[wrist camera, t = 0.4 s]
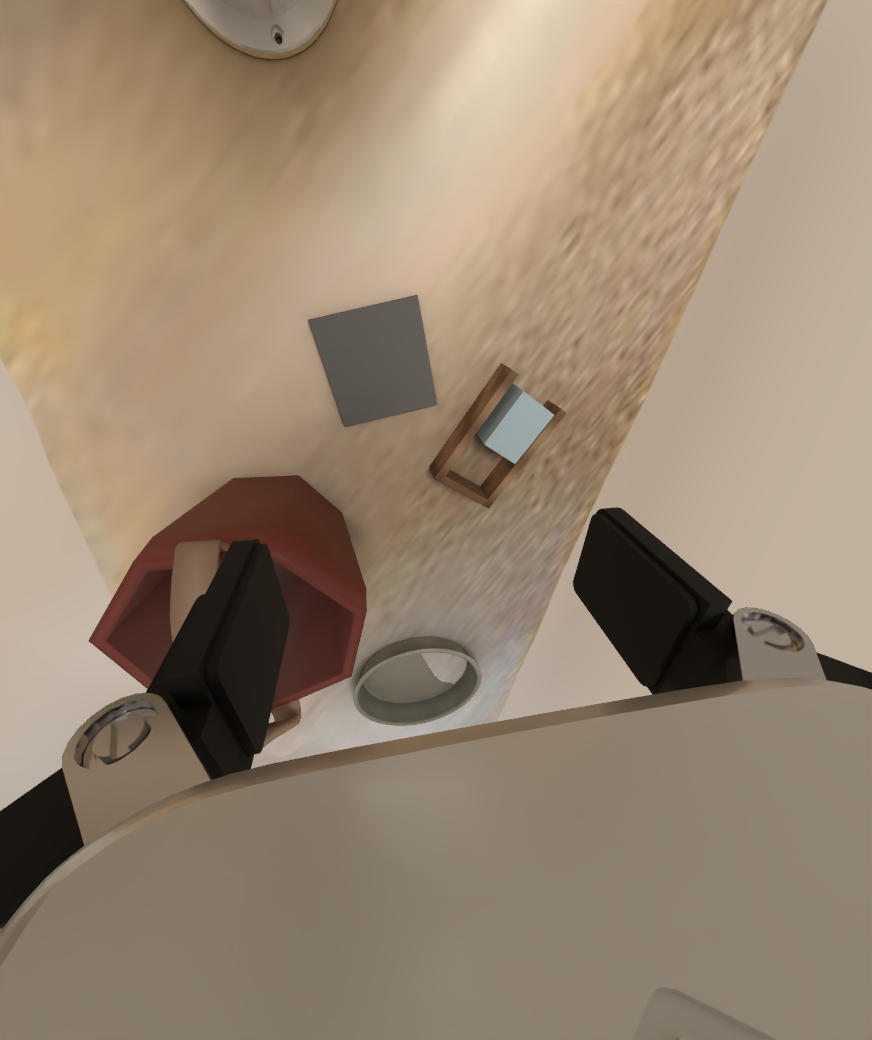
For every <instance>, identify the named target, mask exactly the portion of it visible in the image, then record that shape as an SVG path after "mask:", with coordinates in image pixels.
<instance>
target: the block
mask: <svg viewBox="0 0 872 1040" xmlns="http://www.w3.org/2000/svg"><path fill="white" fill-rule="evenodd" d="M553 416H554V414H552V413H551V412H550V411H549V410H547V409H546V408H545V407H543V406H542V405H541V404H540V403H538V402H537V401H536V400H534V399H533V398H532V397H530V396H529V395H528V394H527V393H525V392H524V391H523V390H521V389H520V388H518V387H517V386H515V385H514V384H512V385H511V386H510V388H509V389H508V390H507V392H506V393H505V394H504V396H503V397H502V399H501V400H500V401H499V403H498V404H497V405H496V407H495V408H494V410H493V411H492V412H491V414H490V415H489V417H488V418H487V419H486V421H485V422H484V423H483V425H482V426H481V428H480V429H479V430H478V432H477V433H476V434H477V436H478V437H479V438H480V440H481V441H482V442H483V443H484V445H486V446H487V447H489V448H491V449H492V450H494V451H495V452H497V453H498V454H500V455H502V456H503V457H505V458H506V459H508V460H509V461H511V462H513V463H514V464H516V462H517V461H518V460H519V459H520V457H521V456H522V455H523V454H524V453H525V451H526V450H527V449H528V448H529V446H530V445H531V444H532V443H533V441H534V440H535V439H536V438H537V436H538V435H539V434H540V433H541V431H542V430H543V429H544V428H545V426H546V425H547V424H548V423H549V421H550V420H551V419H552V418H553Z"/></svg>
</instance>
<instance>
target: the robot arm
mask: <svg viewBox="0 0 872 1040" xmlns="http://www.w3.org/2000/svg"><path fill="white" fill-rule="evenodd" d="M184 1H185V3H186V4H187V5H188V6H189V8H190V9H191V10H192V11H193V13H194V14H195V15H196V16H197V17H198V19H199V20H201V21H202V22H203V23H204V24H205V25H206V26H207V27H208V28H209V29H210V30H211V31H212V32H213V33H214V34H215V35H216V36H218V37H219V38H221V39H222V40H224V41H225V42H227V43H228V44H230V45H231V46H232V47H234V48H235V49H238V50H240V51H242V52H245V53H247V54H249V55H252V56H254V57H260V58H267V59H279V58H287V57H290V56H292V55H295V54H297V53H299V52H301V51H303V50H305V49H306V48H307V47H308V46H309V45H310V44H311V43H313V42H314V41H315V40H316V39H317V38H318V36H319V35H320V33H321V32H322V31H323V29H324V28H325V26H326V25H327V23H328V21H329V19H330V16H331V14H332V12H333V9H334V7H335V5H336V2H337V0H184ZM277 36H280V37H281V38H282V39H283V42H282V43H281V44H277V43H276V37H277ZM573 586H574V590H575V592H576V594H577V595H578V596H579V598H580V599H581V601H582V602H583V603H584V605H585V606H586V608H587V609H588V611H589V612H590V613H591V615H592V616H593V617H594V619H595V620H596V622H597V623H598V625H599V626H600V627H601V629H602V630H603V632H604V633H605V634H606V636H607V637H608V638H609V640H610V641H611V643H612V644H613V646H614V647H615V649H616V650H617V651H618V653H619V654H620V656H621V657H622V658H623V660H624V661H625V662H626V664H627V665H628V667H629V668H630V670H631V671H632V672H633V674H634V675H635V677H636V678H637V679H638V681H639V682H640V683H641V684H642V685H643V686H646V687H648V689H649V690H650V692H651V693H652V694H653V695H649V696H642V697H636V698H630V699H625V700H619V701H613V702H608V703H601V704H596V705H589V706H584V707H578V708H572V709H566V710H561V711H555V712H550V713H544V714H538V715H532V716H526V717H522V718H515V719H510V720H504V721H498V722H493V723H487V724H481V725H476V726H470V727H464V728H459V729H453V730H448V731H442V732H437V733H431V734H426V735H420V736H415V737H409V738H404V739H398V740H393V741H387V742H382V743H376V744H371V745H365V746H360V747H354V748H349V749H344V750H339V751H334V752H329V753H324V754H319V755H314V756H309V757H304V758H299V759H294V760H289V761H284V762H279V763H273V764H269V765H266V766H261V767H257V768H253V769H251V766H252V761H253V757H254V754H258V753H260V752H261V751H262V749H263V745H264V741H265V736H266V732H267V727H268V723H269V718H270V713H271V709H272V704H273V699H274V695H275V690H276V686H277V681H278V676H279V672H280V667H281V662H282V658H283V653H284V649H285V644H286V639H287V635H288V630H289V614H288V611H287V607H286V604H285V601H284V597H283V594H282V591H281V587H280V584H279V581H278V577H277V574H276V571H275V567H274V564H273V561H272V557H271V554H270V551H269V548H268V545H267V544H261V543H260V541H259V540H258V539H249V540H238V541H233V542H232V543H231V545H230V547H229V549H228V551H227V553H226V555H225V556H224V558H223V560H222V562H221V564H220V566H219V568H218V570H217V572H216V574H215V576H214V578H213V580H212V582H211V584H210V585H209V587H208V589H207V591H206V593H205V594H202V595H200V596H199V597H198V598H197V599H196V601H195V602H194V604H193V606H192V608H191V610H190V611H189V613H188V615H187V617H186V619H185V621H184V623H183V624H182V626H181V628H180V630H179V632H178V634H177V636H176V637H175V639H174V641H173V643H172V645H171V647H170V649H169V650H168V652H167V654H166V656H165V658H164V660H163V662H162V663H161V665H160V667H159V669H158V671H157V673H156V675H155V676H154V678H153V680H152V682H151V684H150V686H149V688H148V689H147V691H146V693H139V694H133V695H130V696H127V697H124V698H121V699H119V700H117V701H115V702H113V703H111V704H109V705H107V706H105V707H104V708H102V709H101V710H99V711H98V712H97V713H95V714H94V715H92V716H91V717H90V718H89V719H88V720H87V721H86V722H85V723H84V724H83V725H82V726H80V727H79V728H78V730H77V731H76V733H75V734H74V735H73V736H72V738H71V739H70V741H69V742H68V744H67V746H66V748H65V751H64V753H63V756H62V768H61V769H60V770H58V771H57V772H55V773H54V774H53V775H51V776H50V777H48V778H47V779H46V780H44V781H42V782H41V783H40V784H38V785H37V786H35V787H34V788H33V789H31V790H30V791H28V792H27V793H25V794H24V795H23V796H21V797H20V798H18V799H17V800H15V801H14V802H13V803H11V804H10V805H8V806H7V807H6V808H4V809H3V810H1V811H0V1040H872V673H871V672H868V671H865V670H863V669H860V668H857V667H855V666H852V665H849V664H846V663H844V662H841V661H838V660H835V659H833V658H830V657H828V656H825V655H822V654H819V653H817V652H816V650H815V648H814V645H813V643H812V641H811V640H810V638H809V637H808V636H807V635H806V634H805V633H804V632H803V631H802V630H801V629H800V628H799V627H797V626H796V625H795V624H793V623H792V622H790V621H789V620H787V619H785V618H783V617H781V616H779V615H777V614H774V613H772V612H769V611H766V610H762V609H758V608H747V607H746V608H741V609H738V610H737V611H736V612H735V613H734V614H733V615H732V614H731V613H730V612H729V611H728V610H727V609H728V607H729V605H730V604H731V603H732V601H731V600H730V599H729V598H728V597H727V596H726V595H725V594H723V593H722V592H721V591H720V590H718V589H717V588H716V587H715V586H714V585H712V584H711V583H710V582H709V581H708V580H706V579H705V578H704V577H703V576H702V575H700V574H699V573H698V572H697V571H696V570H695V569H693V568H692V567H691V566H690V565H689V564H687V563H686V562H685V561H684V560H683V559H681V558H680V557H679V556H678V555H677V554H675V553H674V552H673V551H672V550H671V549H669V548H668V547H667V546H666V545H665V544H663V543H662V542H661V541H660V540H659V539H657V538H656V537H655V536H654V535H652V534H651V533H650V532H649V531H648V530H647V529H646V528H644V527H643V526H642V525H641V524H640V523H638V522H637V521H636V520H635V519H634V518H632V517H631V516H630V515H629V514H628V513H626V512H625V511H624V510H623V509H621V508H606V509H600V510H598V511H597V512H596V514H595V515H593V516H592V518H591V521H590V524H589V528H588V531H587V535H586V538H585V542H584V545H583V549H582V553H581V556H580V559H579V563H578V566H577V570H576V573H575V577H574V580H573ZM676 690H677V691H676Z"/></svg>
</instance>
